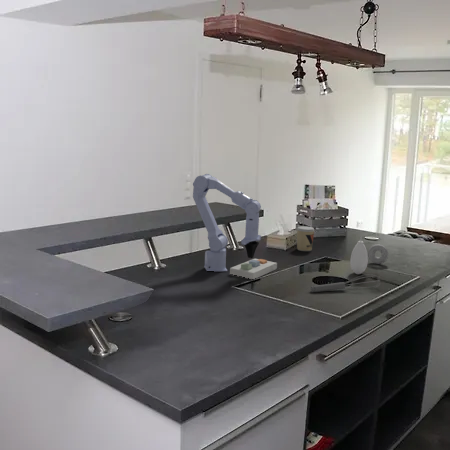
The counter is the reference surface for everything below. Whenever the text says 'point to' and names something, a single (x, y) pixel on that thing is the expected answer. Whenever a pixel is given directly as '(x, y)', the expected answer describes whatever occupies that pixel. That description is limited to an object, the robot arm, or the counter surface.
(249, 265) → the sage green button
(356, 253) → the sauce bottle
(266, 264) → the button panel
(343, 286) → the kitchen whisk
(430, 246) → the counter surface
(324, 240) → the counter surface
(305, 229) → the coffee cup
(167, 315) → the counter surface
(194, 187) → the robot arm
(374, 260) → the donut
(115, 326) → the counter surface
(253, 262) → the slate blue button
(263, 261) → the terracotta button
